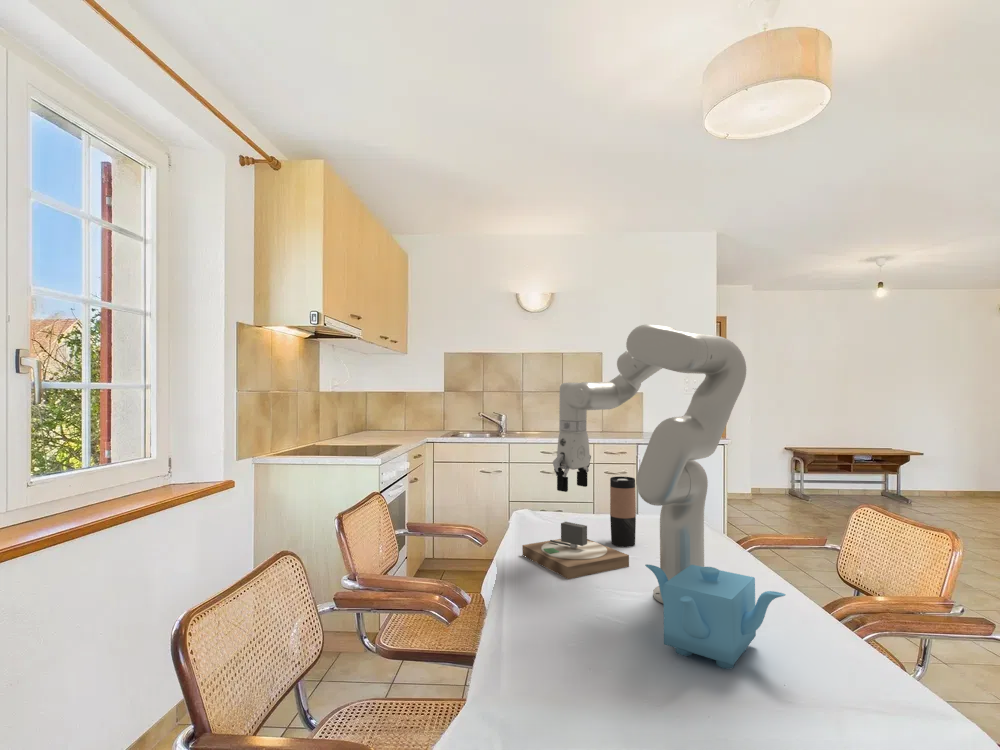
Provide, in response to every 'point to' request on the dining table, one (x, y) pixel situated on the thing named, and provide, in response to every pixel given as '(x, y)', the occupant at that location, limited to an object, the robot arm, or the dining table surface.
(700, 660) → the dining table surface
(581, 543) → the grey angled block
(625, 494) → the travel mug
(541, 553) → the brown wooden flat block
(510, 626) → the dining table surface
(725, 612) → the teakettle
